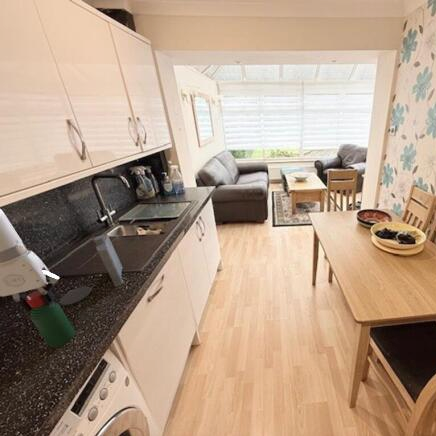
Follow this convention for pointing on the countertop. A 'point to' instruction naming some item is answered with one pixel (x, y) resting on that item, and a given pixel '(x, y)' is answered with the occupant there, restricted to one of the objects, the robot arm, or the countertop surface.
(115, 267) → the grey flat block
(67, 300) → the coaster
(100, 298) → the countertop surface
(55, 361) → the countertop surface
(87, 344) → the countertop surface
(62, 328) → the bottle
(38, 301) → the cap
